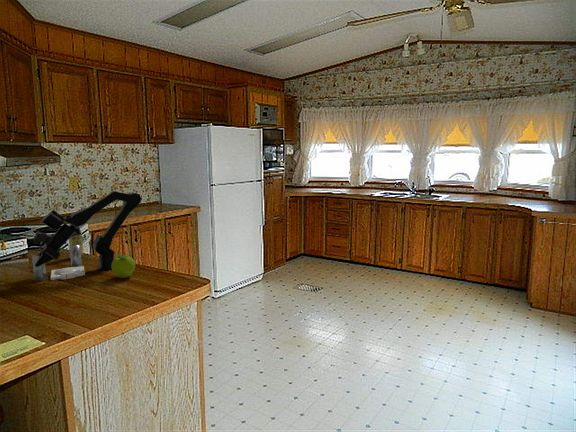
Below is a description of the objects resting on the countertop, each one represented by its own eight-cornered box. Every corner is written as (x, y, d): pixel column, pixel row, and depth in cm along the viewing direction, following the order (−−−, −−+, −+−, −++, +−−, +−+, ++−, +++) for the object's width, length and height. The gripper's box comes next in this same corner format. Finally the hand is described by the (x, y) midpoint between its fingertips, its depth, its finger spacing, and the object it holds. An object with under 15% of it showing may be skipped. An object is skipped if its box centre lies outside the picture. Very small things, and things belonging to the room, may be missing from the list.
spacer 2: (83, 265, 194) (81, 245, 193) (74, 267, 191) (72, 246, 189) (78, 264, 197) (76, 244, 195) (69, 266, 193) (67, 246, 191)
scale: (83, 268, 189) (83, 263, 188) (85, 276, 176) (84, 271, 175) (51, 272, 183) (51, 267, 182) (50, 281, 169) (50, 276, 169)
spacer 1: (48, 279, 173) (46, 256, 172) (38, 281, 170) (35, 258, 168) (43, 277, 175) (40, 255, 174) (32, 280, 172) (29, 257, 170)
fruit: (116, 281, 167) (114, 258, 166) (110, 276, 174) (108, 254, 173) (139, 277, 173) (137, 254, 172) (131, 272, 180) (129, 250, 179)
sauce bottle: (73, 259, 206) (69, 221, 203) (67, 257, 210) (63, 220, 207) (86, 256, 211) (82, 219, 208) (80, 255, 215) (76, 218, 212)
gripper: (43, 222, 179) (16, 250, 174) (47, 227, 164) (18, 258, 159) (65, 237, 184) (39, 264, 180) (71, 243, 169) (43, 274, 165)
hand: (35, 265), depth 171 cm, fingers closed on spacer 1, 4 cm apart
